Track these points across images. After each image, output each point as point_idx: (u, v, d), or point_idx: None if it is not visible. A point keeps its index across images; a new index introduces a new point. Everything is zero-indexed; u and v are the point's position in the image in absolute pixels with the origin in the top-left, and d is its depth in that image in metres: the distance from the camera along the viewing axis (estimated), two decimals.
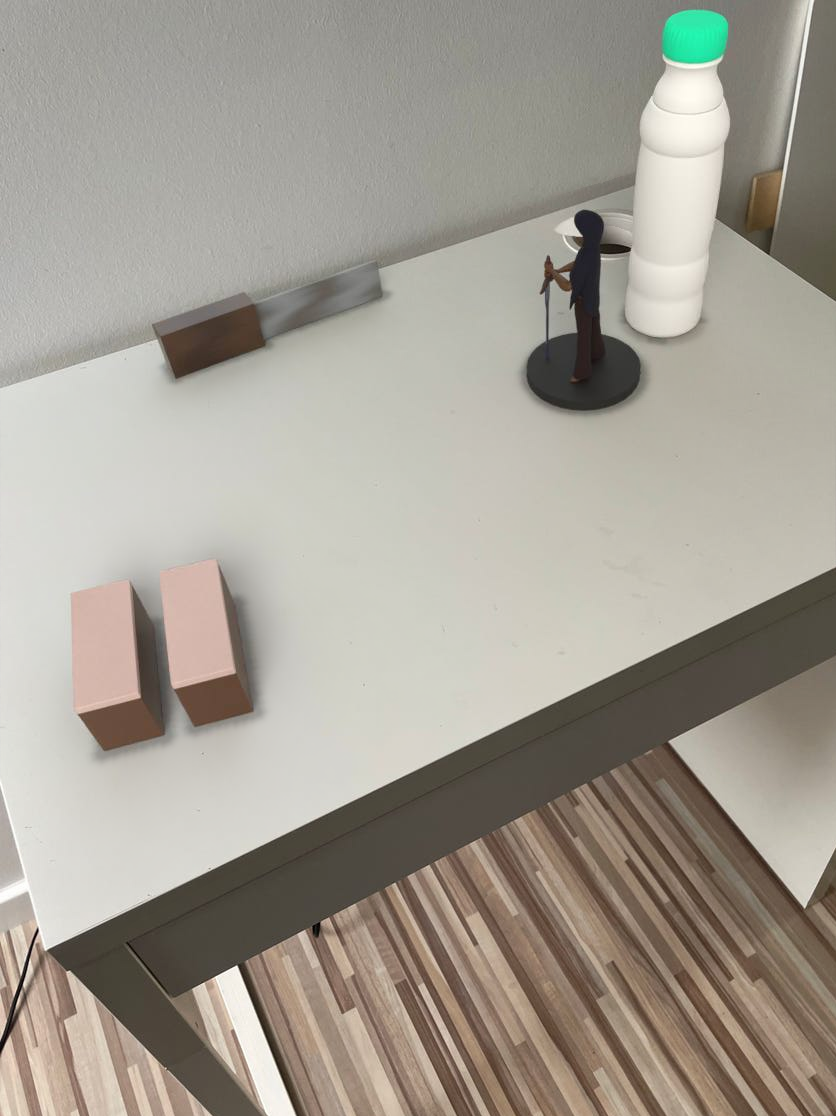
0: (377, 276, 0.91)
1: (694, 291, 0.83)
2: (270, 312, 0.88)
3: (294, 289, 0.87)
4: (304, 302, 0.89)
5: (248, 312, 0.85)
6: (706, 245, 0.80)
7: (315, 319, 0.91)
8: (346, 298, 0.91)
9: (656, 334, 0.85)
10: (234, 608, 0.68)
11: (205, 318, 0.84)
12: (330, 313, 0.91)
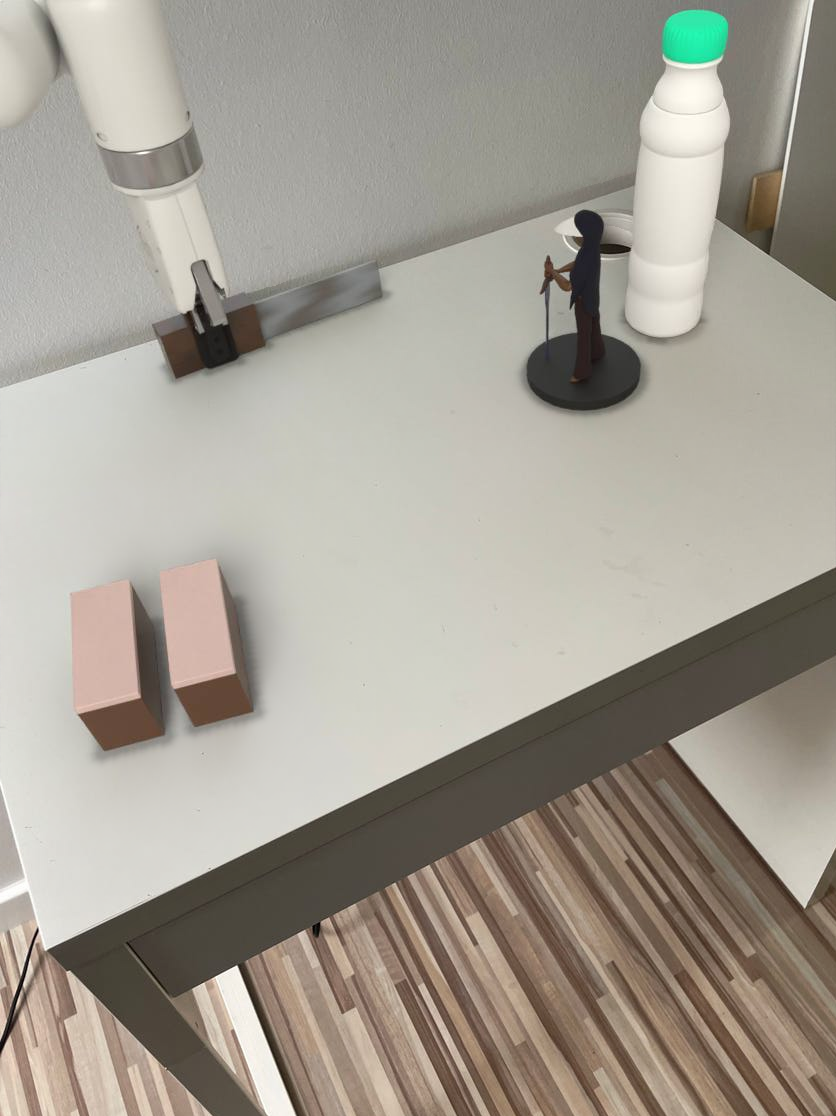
0: (377, 276, 0.91)
1: (694, 292, 0.83)
2: (270, 312, 0.88)
3: (294, 289, 0.87)
4: (304, 302, 0.89)
5: (248, 312, 0.85)
6: (706, 245, 0.80)
7: (315, 319, 0.91)
8: (346, 298, 0.91)
9: (656, 334, 0.85)
10: (234, 608, 0.68)
11: None
12: (330, 313, 0.91)
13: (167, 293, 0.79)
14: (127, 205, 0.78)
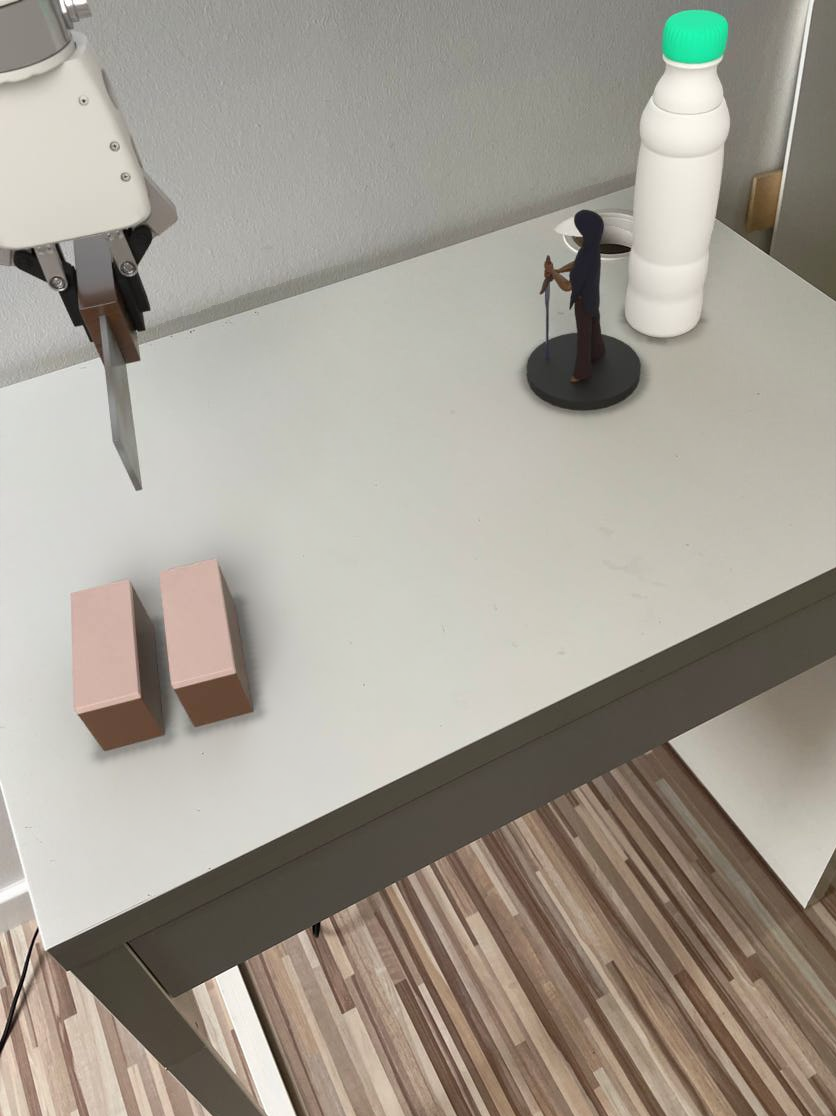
0: (122, 459, 0.53)
1: (694, 292, 0.83)
2: None
3: (104, 353, 0.57)
4: None
5: None
6: (706, 245, 0.80)
7: None
8: None
9: (656, 334, 0.85)
10: (234, 608, 0.68)
11: (81, 271, 0.62)
12: None
13: None
14: None
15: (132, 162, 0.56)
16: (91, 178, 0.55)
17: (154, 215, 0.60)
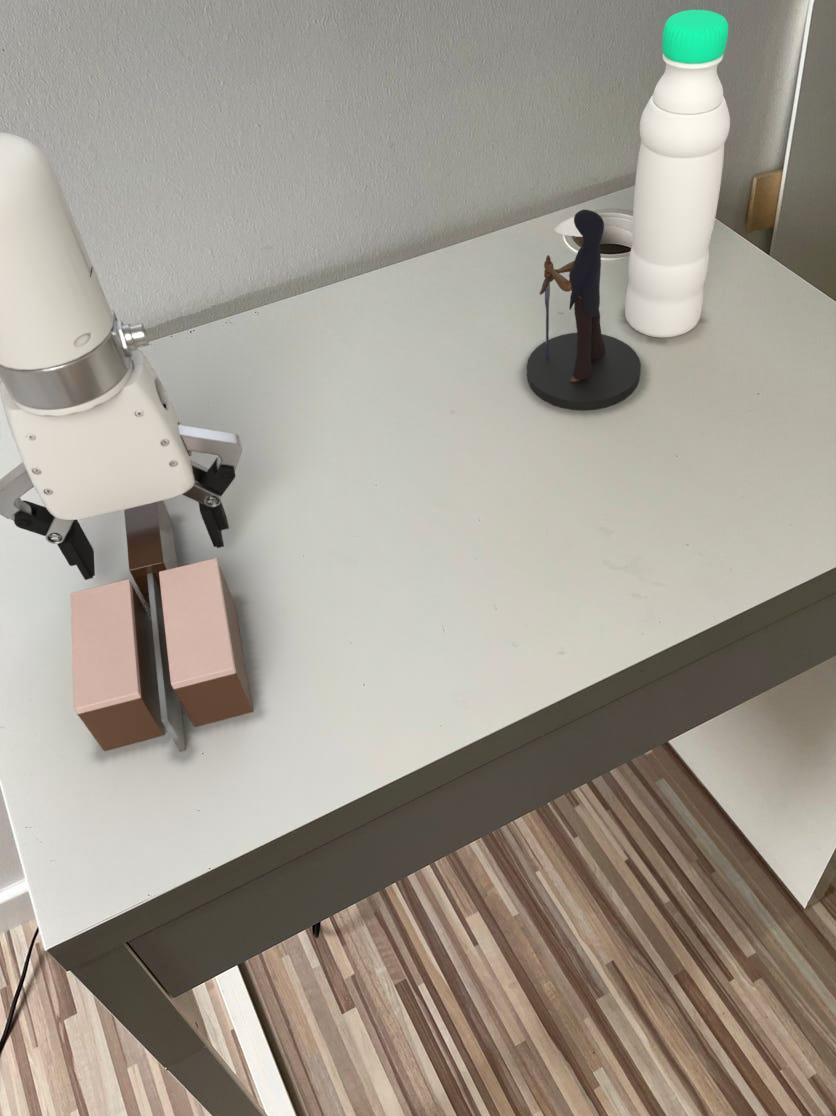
0: None
1: (694, 292, 0.83)
2: None
3: (152, 618, 0.63)
4: None
5: None
6: (706, 245, 0.80)
7: None
8: None
9: (656, 334, 0.85)
10: (234, 608, 0.68)
11: (130, 525, 0.68)
12: None
13: None
14: None
15: (180, 451, 0.62)
16: (143, 467, 0.62)
17: (223, 455, 0.65)
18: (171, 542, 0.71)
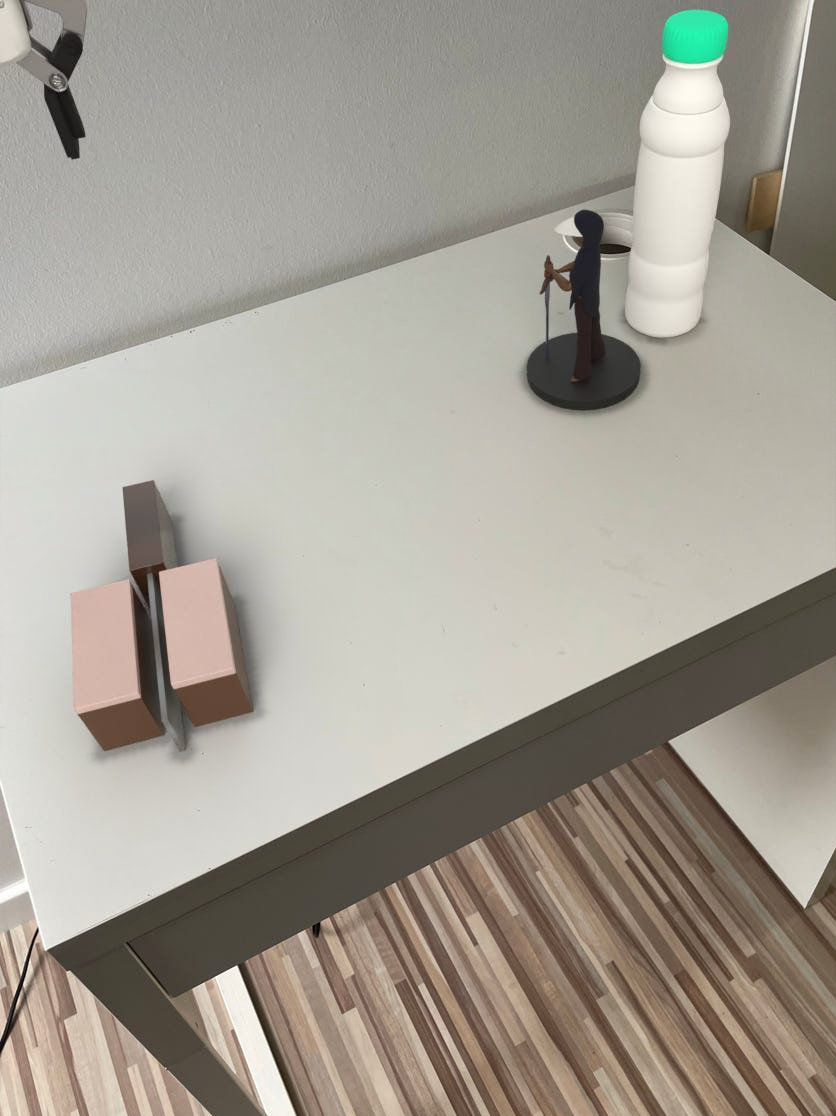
0: None
1: (694, 292, 0.83)
2: None
3: (153, 618, 0.63)
4: None
5: None
6: (706, 245, 0.80)
7: None
8: None
9: (656, 334, 0.85)
10: (234, 608, 0.68)
11: (130, 525, 0.68)
12: None
13: None
14: None
15: None
16: None
17: (65, 15, 0.56)
18: (171, 542, 0.71)
